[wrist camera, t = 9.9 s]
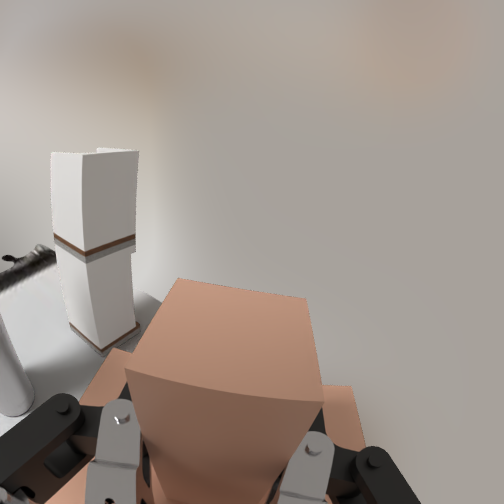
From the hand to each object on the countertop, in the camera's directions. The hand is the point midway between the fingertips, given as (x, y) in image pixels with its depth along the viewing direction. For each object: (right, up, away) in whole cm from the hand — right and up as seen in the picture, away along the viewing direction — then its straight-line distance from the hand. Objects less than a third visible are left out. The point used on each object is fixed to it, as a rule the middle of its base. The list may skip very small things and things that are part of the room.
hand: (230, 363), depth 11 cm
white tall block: (-29, -12, +39) cm, 50 cm away
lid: (-1, -9, +1) cm, 9 cm away
